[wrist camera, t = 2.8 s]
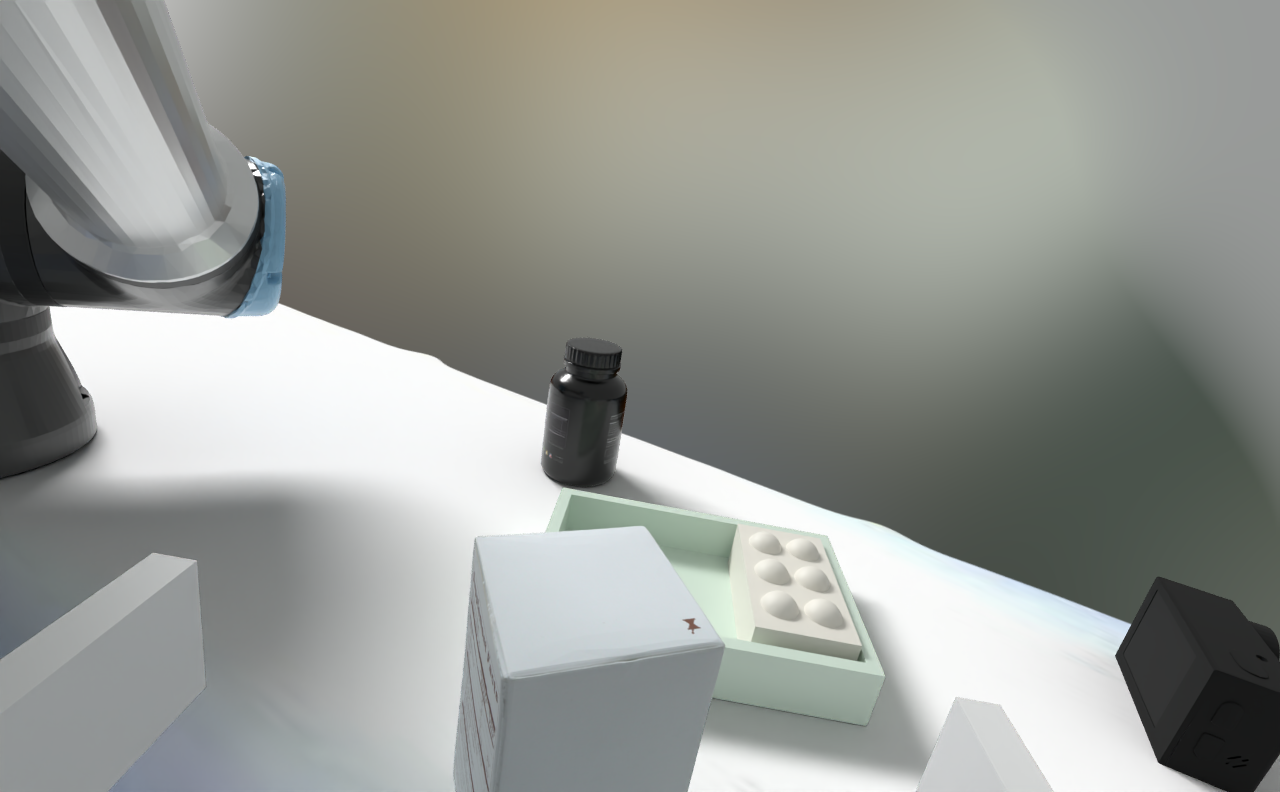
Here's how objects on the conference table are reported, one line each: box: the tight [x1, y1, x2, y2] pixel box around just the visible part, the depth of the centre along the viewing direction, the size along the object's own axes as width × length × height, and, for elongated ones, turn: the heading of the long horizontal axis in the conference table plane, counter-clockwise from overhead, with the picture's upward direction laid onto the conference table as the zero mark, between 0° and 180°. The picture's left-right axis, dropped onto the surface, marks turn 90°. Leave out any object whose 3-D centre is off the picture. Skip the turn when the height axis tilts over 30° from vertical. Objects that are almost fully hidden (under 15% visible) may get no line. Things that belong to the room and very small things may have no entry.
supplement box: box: [453, 526, 725, 792], centre depth 24 cm, size 7×7×13 cm
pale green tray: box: [545, 487, 886, 726], centre depth 41 cm, size 20×14×4 cm
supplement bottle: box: [541, 338, 627, 487], centre depth 55 cm, size 7×7×12 cm
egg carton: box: [728, 524, 862, 661], centre depth 40 cm, size 6×11×4 cm, turn 177°
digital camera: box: [1115, 577, 1280, 792], centre depth 38 cm, size 10×5×7 cm, turn 155°
